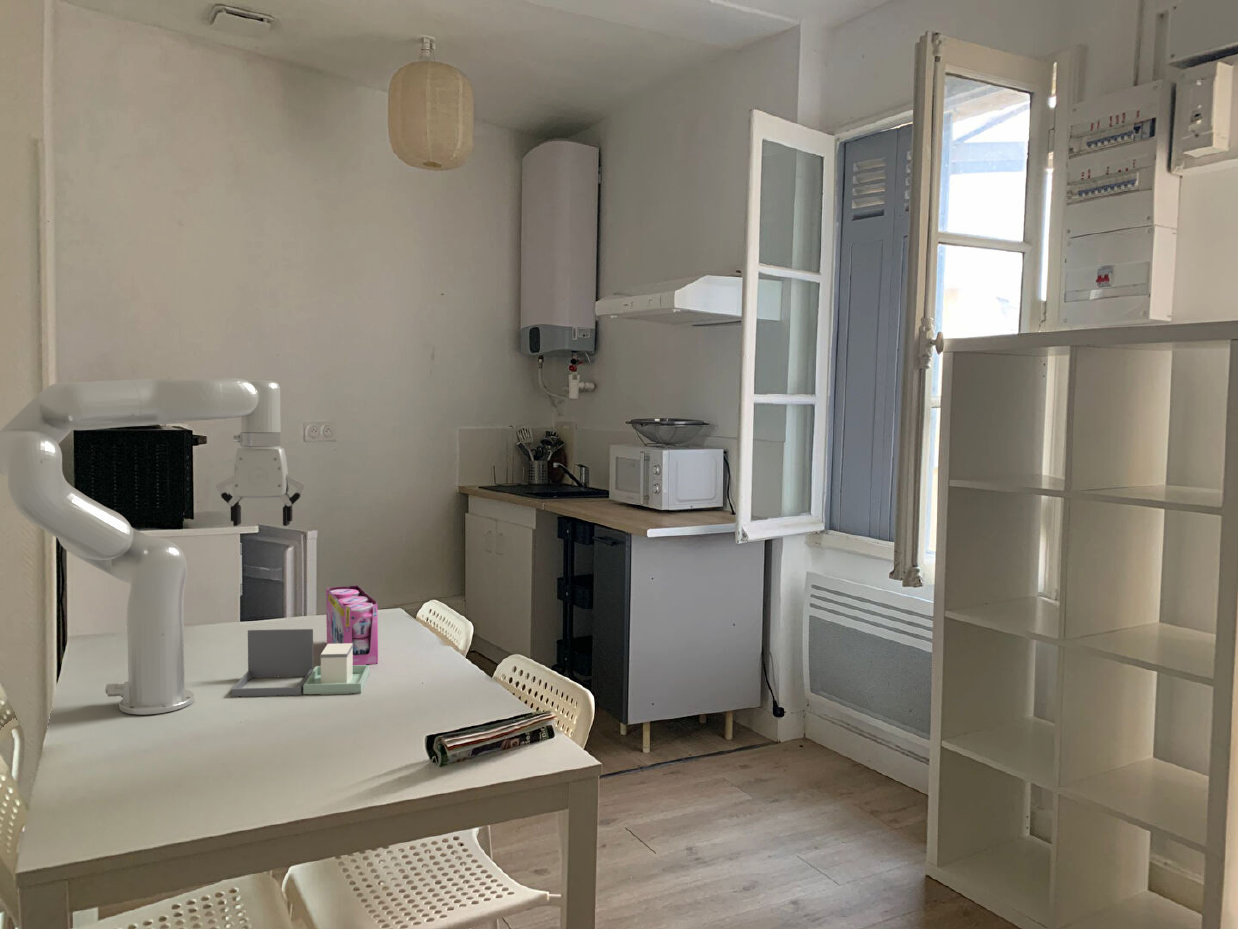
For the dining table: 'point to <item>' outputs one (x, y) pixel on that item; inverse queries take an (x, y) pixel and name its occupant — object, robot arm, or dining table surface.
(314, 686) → the tray
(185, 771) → the dining table surface
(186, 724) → the dining table surface
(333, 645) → the cream upright block
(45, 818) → the dining table surface
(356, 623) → the gum box
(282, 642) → the holder
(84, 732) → the dining table surface
